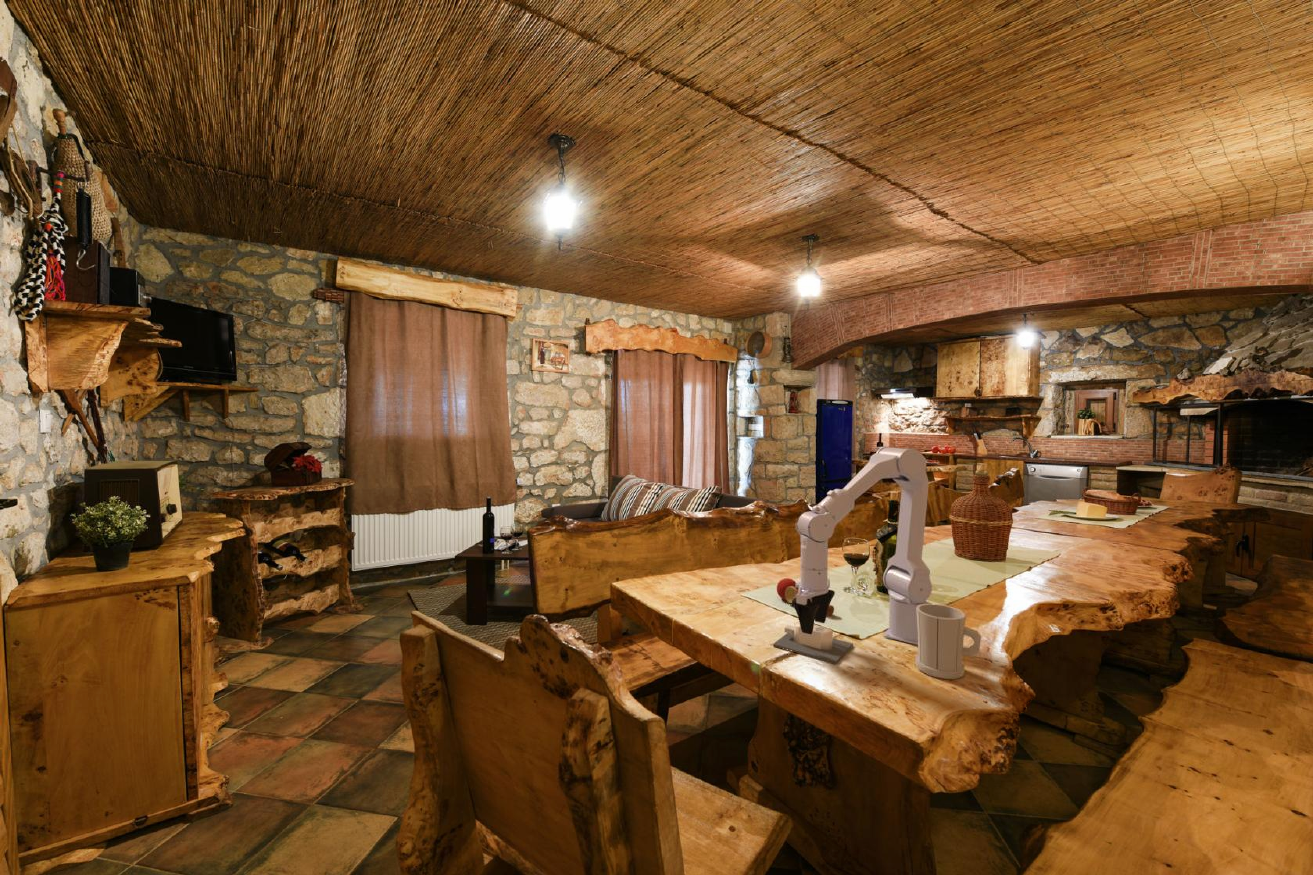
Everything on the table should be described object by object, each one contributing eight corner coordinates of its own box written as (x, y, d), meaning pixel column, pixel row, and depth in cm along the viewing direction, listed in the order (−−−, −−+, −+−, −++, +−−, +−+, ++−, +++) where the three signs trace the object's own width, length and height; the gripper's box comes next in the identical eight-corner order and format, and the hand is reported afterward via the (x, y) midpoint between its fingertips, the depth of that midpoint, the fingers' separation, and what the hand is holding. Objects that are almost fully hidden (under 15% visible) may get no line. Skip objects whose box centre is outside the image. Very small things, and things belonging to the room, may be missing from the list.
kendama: (841, 617, 139) (790, 589, 154) (841, 596, 138) (790, 569, 153) (820, 628, 135) (770, 598, 150) (820, 606, 134) (770, 578, 149)
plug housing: (834, 645, 117) (835, 629, 117) (828, 651, 115) (829, 634, 114) (789, 633, 124) (789, 618, 124) (782, 638, 121) (782, 623, 121)
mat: (853, 646, 119) (853, 643, 119) (835, 664, 110) (836, 661, 110) (793, 630, 127) (793, 628, 127) (773, 646, 118) (773, 643, 118)
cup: (955, 659, 112) (956, 602, 112) (983, 680, 103) (985, 619, 103) (906, 659, 112) (907, 603, 111) (930, 681, 103) (931, 620, 102)
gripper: (809, 556, 126) (808, 613, 127) (783, 571, 115) (782, 633, 115) (839, 561, 122) (838, 620, 122) (815, 577, 110) (814, 641, 111)
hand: (813, 627), depth 118 cm, fingers open, 7 cm apart
